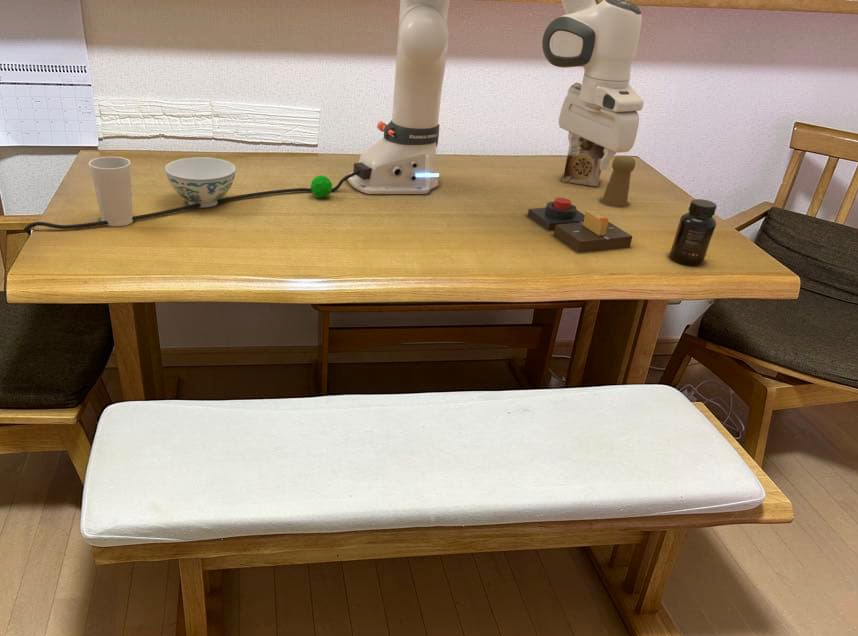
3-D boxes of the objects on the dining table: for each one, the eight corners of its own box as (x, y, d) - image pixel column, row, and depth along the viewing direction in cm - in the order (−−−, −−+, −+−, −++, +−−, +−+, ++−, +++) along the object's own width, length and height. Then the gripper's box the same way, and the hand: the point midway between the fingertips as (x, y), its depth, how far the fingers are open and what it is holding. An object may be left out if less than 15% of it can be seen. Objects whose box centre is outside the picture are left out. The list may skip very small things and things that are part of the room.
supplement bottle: (710, 262, 155) (729, 206, 148) (689, 268, 152) (707, 211, 145) (683, 250, 160) (700, 195, 153) (661, 256, 156) (678, 199, 149)
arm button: (558, 211, 166) (560, 203, 165) (550, 205, 169) (551, 198, 168) (572, 210, 167) (574, 202, 166) (563, 204, 170) (565, 197, 169)
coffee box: (599, 180, 196) (614, 116, 187) (597, 187, 191) (612, 122, 182) (564, 174, 199) (577, 111, 189) (561, 181, 194) (574, 116, 184)
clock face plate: (578, 253, 155) (581, 241, 153) (552, 235, 163) (554, 223, 161) (630, 248, 159) (633, 236, 158) (602, 230, 167) (605, 218, 165)
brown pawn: (627, 208, 180) (640, 161, 173) (602, 205, 181) (613, 158, 174) (625, 199, 185) (637, 154, 178) (600, 196, 185) (611, 151, 179)
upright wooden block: (582, 225, 161) (586, 209, 160) (588, 224, 162) (592, 209, 160) (598, 235, 157) (602, 220, 155) (605, 235, 157) (609, 219, 155)
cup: (101, 229, 152) (93, 170, 145) (93, 216, 157) (85, 158, 150) (141, 224, 155) (134, 166, 148) (132, 211, 160) (125, 154, 154)
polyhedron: (314, 201, 172) (314, 180, 169) (307, 194, 175) (307, 173, 173) (334, 199, 173) (335, 179, 171) (327, 192, 177) (328, 172, 174)
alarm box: (548, 230, 165) (551, 215, 163) (527, 216, 172) (529, 201, 170) (590, 226, 168) (593, 211, 166) (568, 212, 175) (571, 197, 173)
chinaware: (250, 204, 168) (249, 169, 164) (195, 219, 159) (192, 183, 154) (209, 186, 176) (207, 153, 172) (154, 200, 167) (151, 165, 162)
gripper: (558, 80, 156) (545, 148, 164) (624, 105, 141) (606, 178, 149) (583, 79, 158) (569, 146, 166) (650, 103, 143) (631, 175, 151)
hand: (587, 161), depth 157 cm, fingers open, 8 cm apart
